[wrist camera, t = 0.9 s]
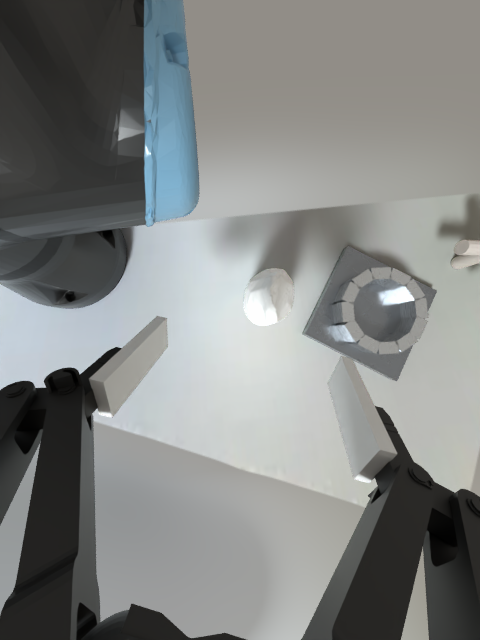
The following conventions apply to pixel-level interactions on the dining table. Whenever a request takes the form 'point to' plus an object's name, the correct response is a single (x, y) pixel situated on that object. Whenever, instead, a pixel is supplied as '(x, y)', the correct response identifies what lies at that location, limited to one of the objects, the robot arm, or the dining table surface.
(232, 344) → the dining table surface
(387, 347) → the collar
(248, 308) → the white faceted pointed piece
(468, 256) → the pipe connector
